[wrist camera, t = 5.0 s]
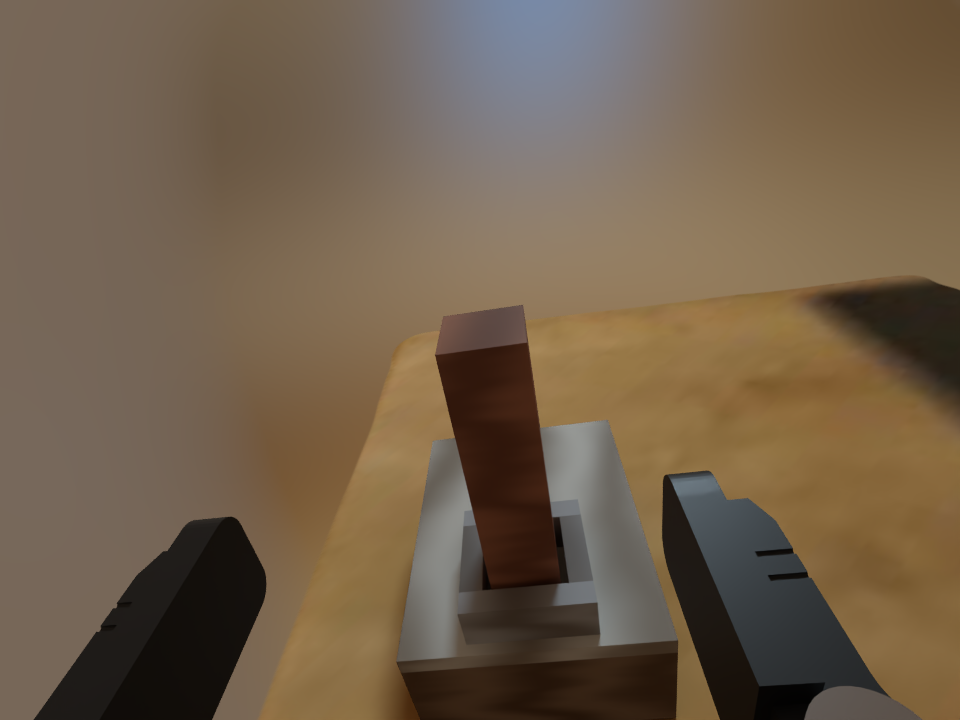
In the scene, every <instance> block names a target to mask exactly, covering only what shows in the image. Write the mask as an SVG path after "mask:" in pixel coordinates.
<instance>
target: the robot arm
mask: <svg viewBox="0 0 960 720" xmlns="http://www.w3.org/2000/svg"><path fill="white" fill-rule="evenodd" d="M662 539H663V548H664V554H665V559H666V563H667V567H668V570H669V574H670V576H671V579H672V582H673V585H674V588H675V591H676V594H677V597H678V600H679V602H680V605H681V608H682V611H683V614H684V617H685V620H686V623H687V626H688V628H689V631H690V634H691V637H692V640H693V643H694V646H695V649H696V652H697V654H698V657H699V660H700V663H701V666H702V669H703V672H704V675H705V678H706V680H707V683H708V686H709V689H710V692H711V695H712V698H713V701H714V704H715V706H716V709H717V712H718V715H719V718H720V720H922V719H921V718H920V717H918V716H917V715H916V714H915V713H914V712H912V711H911V710H909V709H908V708H906V707H905V706H903V705H902V704H900V703H899V702H897V701H895V700H893V699H892V698H891V697H889V696H888V695H887V693H886V692H885V691H884V690H883V689H882V688H881V687H880V685H879V684H878V683H877V681H876V680H875V679H874V677H873V676H872V674H871V673H870V671H869V670H868V668H867V667H866V665H865V663H864V662H863V660H862V658H861V657H860V655H859V654H858V652H857V650H856V649H855V647H854V646H853V644H852V642H851V641H850V639H849V638H848V636H847V634H846V633H845V631H844V630H843V628H842V626H841V625H840V623H839V622H838V620H837V618H836V617H835V615H834V614H833V612H832V610H831V609H830V607H829V606H828V604H827V602H826V601H825V599H824V598H823V596H822V594H821V593H820V591H819V590H818V588H817V586H816V585H815V583H814V581H813V580H812V578H809V577H808V573H807V570H806V569H805V567H804V565H803V564H802V562H801V561H800V559H799V557H798V556H797V554H794V552H793V548H792V546H791V545H790V543H789V541H788V540H787V538H786V537H785V535H784V533H783V532H782V530H781V529H780V527H779V525H778V524H777V522H776V521H775V520H774V519H773V518H772V517H771V516H769V515H768V514H767V513H766V512H764V511H763V510H762V509H761V508H759V507H758V506H757V505H756V504H754V503H753V502H752V501H751V500H749V499H748V498H746V499H735V500H727V499H726V497H725V495H724V494H723V492H722V490H721V488H720V486H719V484H718V483H717V481H716V479H715V477H714V475H713V474H712V473H711V472H710V471H699V472H689V473H679V474H669V475H665V476H664V479H663V518H662ZM265 593H266V575H265V571H264V569H263V567H262V564H261V563H260V561H259V559H258V557H257V555H256V553H255V551H254V549H253V547H252V545H251V543H250V541H249V540H248V537H247V536H246V534H245V532H244V530H243V528H242V526H241V524H240V523H239V521H238V520H237V519H235V518H234V517H222V518H212V519H203V520H194V521H191V522H189V523H188V524H187V525H185V527H184V528H183V529H182V530H181V532H180V533H179V535H178V536H177V538H176V539H175V541H174V543H173V544H172V545H171V547H170V548H169V550H168V551H164V552H162V553H161V554H160V555H159V556H158V557H157V558H156V559H154V560H153V561H152V562H151V563H150V564H149V565H148V566H147V567H146V568H145V569H143V570H142V571H141V572H140V573H139V574H138V575H137V576H136V577H135V579H134V580H133V581H132V583H131V584H130V586H129V587H128V588H127V590H126V591H125V593H124V594H123V595H122V597H121V598H120V600H119V601H118V602H117V608H114V609H112V611H111V612H110V614H109V615H108V616H107V618H106V619H105V621H104V622H103V623H102V625H101V630H100V632H96V633H95V635H94V636H93V637H92V639H91V640H90V642H89V643H88V644H87V646H86V647H85V649H84V650H83V652H82V653H81V654H80V656H79V657H78V658H77V660H76V662H75V663H74V664H73V666H72V667H71V669H70V670H69V671H68V673H67V674H66V676H65V677H64V678H63V680H62V681H61V682H60V684H59V685H58V687H57V688H56V689H55V691H54V692H53V694H52V695H51V696H50V698H49V699H48V701H47V702H46V703H45V705H44V706H43V708H42V709H41V710H40V712H39V713H38V715H37V716H36V717H35V719H34V720H212V718H213V716H214V714H215V712H216V709H217V707H218V705H219V702H220V700H221V698H222V696H223V693H224V691H225V689H226V686H227V684H228V682H229V680H230V677H231V675H232V673H233V671H234V668H235V666H236V664H237V661H238V659H239V657H240V654H241V652H242V650H243V647H244V645H245V643H246V641H247V638H248V636H249V634H250V632H251V629H252V627H253V625H254V623H255V620H256V618H257V616H258V613H259V611H260V609H261V607H262V604H263V601H264V598H265Z"/></svg>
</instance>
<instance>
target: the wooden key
mask: <svg viewBox="0 0 960 720" xmlns="http://www.w3.org/2000/svg"><path fill="white" fill-rule="evenodd" d="M435 356H436V361H437V365H438V369H439V373H440V377H441V381H442V386H443V390H444V394H445V398H446V402H447V406H448V411H449V415H450V419H451V423H452V427H453V431H454V436H455V440H456V444H457V448H458V452H459V456H460V461H461V465H462V469H463V473H464V477H465V481H466V486H467V490H468V494H469V498H470V502H471V506H472V511H473V515H474V519H475V523H476V527H477V531H478V536H479V540H480V544H481V548H482V552H483V557H484V561H485V565H486V569H487V573H488V577H489V582H490V586H491V590H494V589H506V588H517V587H528V586H539V585H551V584H561V576H560V569H559V561H558V553H557V546H556V539H555V532H554V524H553V517H552V510H551V503H550V496H549V489H548V481H547V474H546V467H545V460H544V453H543V446H542V438H541V431H540V424H539V417H538V410H537V402H536V395H535V388H534V381H533V374H532V367H531V359H530V352H529V345H528V338H527V331H526V324H525V317H524V309H523V305H519V306H512V307H506V308H499V309H492V310H485V311H478V312H471V313H464V314H457V315H450V316H444V317H443V320H442V325H441V330H440V334H439V339H438V344H437V349H436V354H435Z"/></svg>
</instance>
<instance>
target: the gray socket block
mask: <svg viewBox="0 0 960 720" xmlns="http://www.w3.org/2000/svg"><path fill="white" fill-rule="evenodd" d="M540 431H541V438H542V446H543V453H544V460H545V467H546V474H547V481H548V489H549V496H550V503H551V510H552V517H553V524H554V532H555V539H556V546H557V553H558V561H559V569H560V576H561V584H551V585H539V586H528V587H517V588H506V589H494V590H491V586H490V582H489V577H488V573H487V569H486V565H485V561H484V557H483V552H482V548H481V544H480V540H479V536H478V531H477V527H476V523H475V519H474V515H473V511H472V506H471V502H470V498H469V494H468V490H467V486H466V481H465V477H464V473H463V469H462V465H461V461H460V456H459V452H458V448H457V444H456V440H455V438H453V439H445V440H437V441H433V444H432V450H431V456H430V462H429V468H428V474H427V480H426V486H425V492H424V498H423V504H422V510H421V516H420V522H419V528H418V534H417V540H416V547H415V553H414V559H413V565H412V571H411V577H410V583H409V589H408V595H407V601H406V607H405V613H404V619H403V625H402V631H401V637H400V643H399V649H398V655H397V661H396V662H397V664H398V667H399V669H400V671H401V674H402V676H403V679H404V681H405V683H406V686H407V688H408V691H409V693H410V695H411V698H412V700H413V703H414V705H415V708H416V710H417V712H418V715H419V717H420V720H648V719H664V718H676V702H677V663H678V639H677V635H676V632H675V629H674V626H673V623H672V620H671V617H670V613H669V610H668V607H667V604H666V601H665V598H664V595H663V592H662V588H661V585H660V582H659V579H658V576H657V573H656V570H655V566H654V563H653V560H652V557H651V554H650V551H649V548H648V545H647V541H646V538H645V535H644V532H643V529H642V526H641V523H640V519H639V516H638V513H637V510H636V507H635V504H634V501H633V498H632V494H631V491H630V488H629V485H628V482H627V479H626V476H625V472H624V469H623V466H622V463H621V460H620V457H619V454H618V451H617V447H616V444H615V441H614V438H613V435H612V432H611V429H610V425H609V422H608V420H603V421H595V422H587V423H578V424H570V425H562V426H553V427H545V428H540Z"/></svg>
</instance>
